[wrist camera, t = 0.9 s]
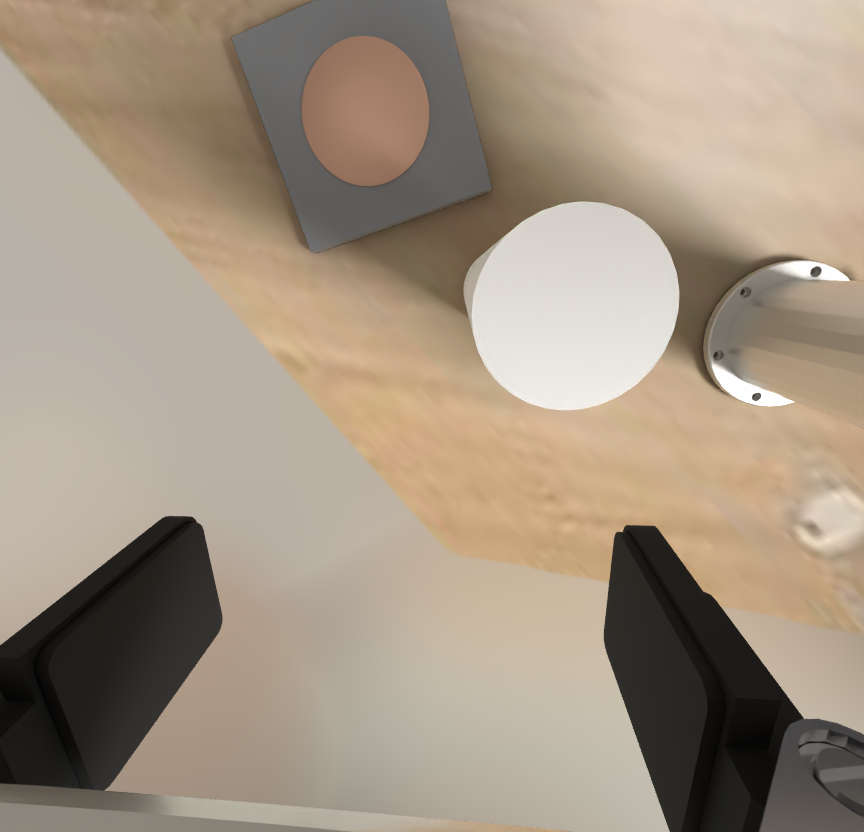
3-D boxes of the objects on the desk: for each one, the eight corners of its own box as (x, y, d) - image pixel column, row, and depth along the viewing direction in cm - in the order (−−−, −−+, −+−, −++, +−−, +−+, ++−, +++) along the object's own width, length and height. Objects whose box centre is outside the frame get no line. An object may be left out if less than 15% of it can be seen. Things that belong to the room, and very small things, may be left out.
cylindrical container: (470, 337, 41) (489, 425, 17) (456, 256, 38) (454, 228, 15) (548, 321, 40) (683, 391, 16) (538, 238, 38) (675, 177, 14)
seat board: (433, -37, 32) (432, -55, 31) (490, 191, 37) (492, 187, 35) (240, 47, 35) (229, 36, 33) (316, 253, 39) (310, 252, 37)
